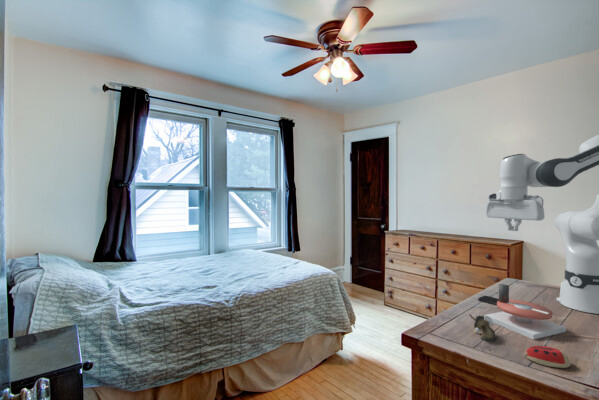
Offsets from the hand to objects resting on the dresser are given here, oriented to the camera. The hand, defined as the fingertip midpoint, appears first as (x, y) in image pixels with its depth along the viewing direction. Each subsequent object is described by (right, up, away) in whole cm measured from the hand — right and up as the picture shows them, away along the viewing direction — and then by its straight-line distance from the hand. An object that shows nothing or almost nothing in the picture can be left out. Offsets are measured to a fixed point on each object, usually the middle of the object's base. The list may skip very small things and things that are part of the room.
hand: (512, 230), depth 113 cm
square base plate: (-7, -31, -14) cm, 35 cm away
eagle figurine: (-26, -31, -21) cm, 46 cm away
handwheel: (-7, -26, -14) cm, 31 cm away
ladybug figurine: (-18, -32, -36) cm, 51 cm away
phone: (0, -32, +6) cm, 32 cm away
